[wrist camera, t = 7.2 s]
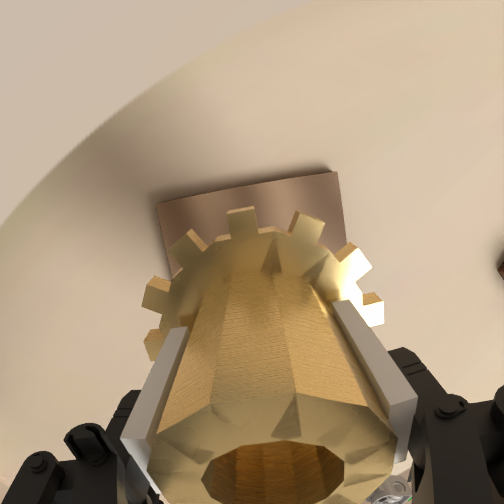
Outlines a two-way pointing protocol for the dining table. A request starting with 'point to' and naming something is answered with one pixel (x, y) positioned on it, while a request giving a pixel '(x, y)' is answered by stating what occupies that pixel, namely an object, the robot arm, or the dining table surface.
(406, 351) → the robot arm
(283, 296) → the brass gear
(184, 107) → the dining table surface
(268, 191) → the gear board
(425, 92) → the dining table surface
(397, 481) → the mechanical component
